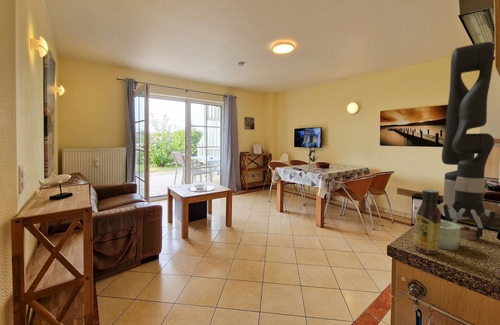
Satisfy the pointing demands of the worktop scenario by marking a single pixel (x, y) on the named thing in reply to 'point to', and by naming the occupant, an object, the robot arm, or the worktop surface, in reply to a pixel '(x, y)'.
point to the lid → (468, 233)
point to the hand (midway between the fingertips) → (466, 235)
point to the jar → (449, 235)
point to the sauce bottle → (428, 223)
